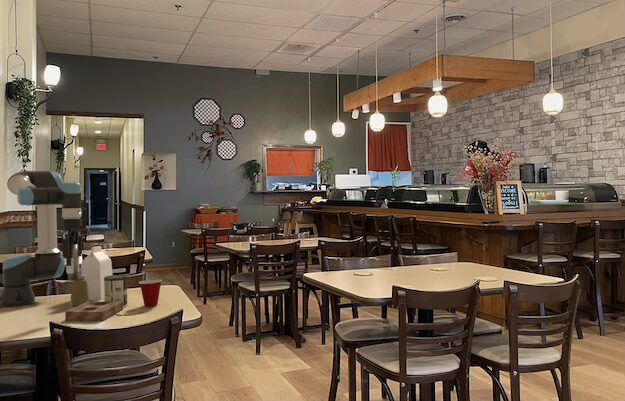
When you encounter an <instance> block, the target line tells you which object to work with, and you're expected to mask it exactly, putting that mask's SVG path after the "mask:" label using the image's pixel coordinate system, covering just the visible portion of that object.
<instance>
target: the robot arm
mask: <svg viewBox="0 0 625 401" xmlns="http://www.w3.org/2000/svg"><path fill="white" fill-rule="evenodd" d="M6 187H7V190H8V191H9V192H11V193H12V194H13V195H17V202H18V204H19V205H20V206H27V207H28V206H36V213H37V214H36V216H37V217H36V218H37V219H36V220H37V221H36V222H37V250H36V251H35V252H34V256H32V255H31V254H29V253H25V254H23V253H22V254H17V255H12V256H8V257H6V258H4V259H3V261H2V280H3V282H2V283H3V284H2V286H3V289H2V291H1V294H0V307H5V308H6V307H9V308H10V307H20V306H28V305H31V304H34V303H35V302H36V297H35V293H34V291H33V289H32V281H39V280H48V279H50V280H51V279H56V278H60V277H61V276H62V275H63V273H64V271H65V270H66V274H68V273H74V271H73V258H72V251H73V245H74V244H77V245H78V272H79V268H80V257H82V256H83V235H84V233H83V231H80V228H81V227H82V226H83V225H82V224H83V223H82V222H83V221H82V219H81V217H82V213H83V211H82V186H81V183H80V182H74V181H73V182H63V179H62V176H61V174H60V173H59V172H57V171H50V170H46V171H45V170H42V171H41V170H23V171H18V172H16V173H13V174H12V175H11V176H10V177H9V178H8V179H7V183H6ZM57 205H59V206H61V207H62V208H61V217H62V220H61V221H62V224H61V225H62V228H64V229H65V230H64V233H61V234H60V237H61V246H62V250H60V249H59V248H58V229H57V228H58V227H57ZM65 267H66V268H65Z"/></svg>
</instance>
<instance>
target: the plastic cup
mask: <svg viewBox="0 0 625 401" xmlns="http://www.w3.org/2000/svg"><path fill="white" fill-rule="evenodd" d="M162 281H163V279H148V280H142V281H139V282H138V284H139V286H140V291H141V295H142V299H143V300H142V301H143V304H144V307H147V308H151V307H156V306H158V303H159V296H160V290H161V285H162Z"/></svg>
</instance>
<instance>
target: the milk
mask: <svg viewBox="0 0 625 401" xmlns="http://www.w3.org/2000/svg"><path fill="white" fill-rule="evenodd" d="M112 265H113V264H112V259H111V258H110V257H109V256H108V255H107V254H106V253H105V252H104V251H103V248H102V246H101V245H100V246H99V245H98V246H93V247H91V251H90V253H89V254H88V255H87V256H86V257H85V258H84V259H83V260H82V261H81V264H80V268H81V270H82V274H83V275H85V279H86V280H87V284H88V292H89V299H88V301H90V300H91V301H102V300H105V295H104V277H106V276H112V275H113V266H112Z"/></svg>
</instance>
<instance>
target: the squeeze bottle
mask: <svg viewBox="0 0 625 401" xmlns="http://www.w3.org/2000/svg"><path fill="white" fill-rule="evenodd" d="M71 281H72V282H71V291H70V293H71V294H70V301H71V303H72V306H73V307H77V306H79V305H81V304H84V303H86V302H88V301H89V300H88V299H89V292H88V284H87V280H86V279H85V275H83V274H82V270H81V267H79V272H78V280H71Z"/></svg>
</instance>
